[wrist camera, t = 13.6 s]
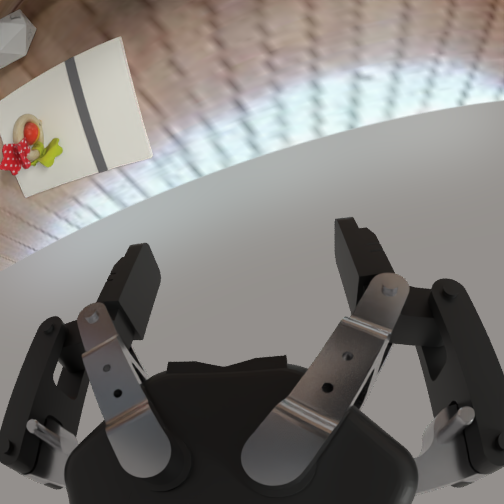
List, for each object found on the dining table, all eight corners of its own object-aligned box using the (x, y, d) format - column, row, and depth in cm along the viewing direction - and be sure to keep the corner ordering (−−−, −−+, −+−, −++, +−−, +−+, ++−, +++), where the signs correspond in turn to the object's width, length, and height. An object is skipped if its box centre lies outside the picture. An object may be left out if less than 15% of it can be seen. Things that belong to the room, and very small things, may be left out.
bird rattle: (34, 126, 37) (40, 178, 39) (-14, 121, 26) (-10, 183, 28) (60, 112, 36) (67, 166, 38) (12, 102, 25) (16, 167, 27)
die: (48, 51, 29) (27, 15, 20) (2, 87, 28) (-27, 58, 19) (35, 25, 28) (17, -9, 19) (-7, 58, 27) (-32, 29, 17)
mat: (-6, 105, 32) (-9, 107, 31) (121, 36, 29) (118, 36, 29) (27, 195, 43) (24, 198, 42) (153, 156, 40) (151, 158, 39)
